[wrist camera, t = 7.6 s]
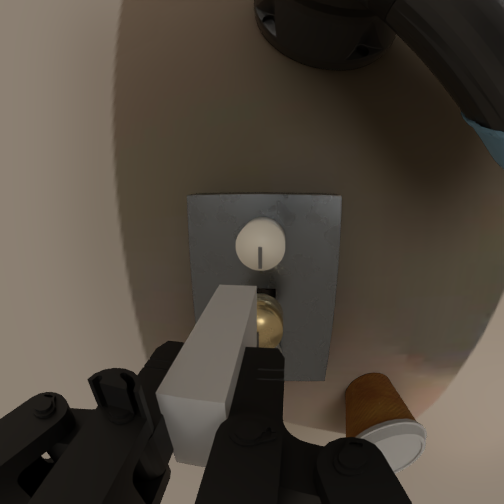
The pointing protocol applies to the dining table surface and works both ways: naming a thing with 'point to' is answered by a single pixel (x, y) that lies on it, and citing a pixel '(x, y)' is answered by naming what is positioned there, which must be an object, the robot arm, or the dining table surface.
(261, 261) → the knob
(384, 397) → the disposable coffee cup
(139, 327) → the dining table surface
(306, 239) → the mount panel
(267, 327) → the brass pot knob
